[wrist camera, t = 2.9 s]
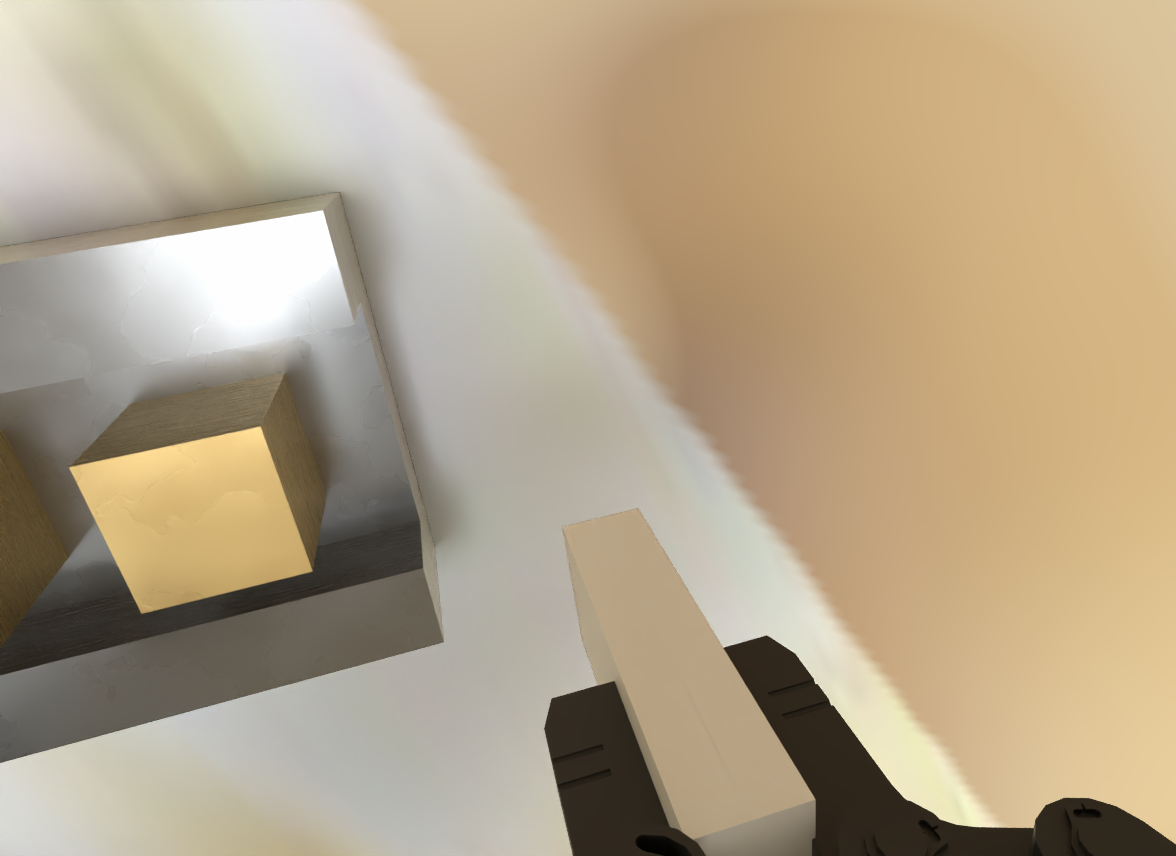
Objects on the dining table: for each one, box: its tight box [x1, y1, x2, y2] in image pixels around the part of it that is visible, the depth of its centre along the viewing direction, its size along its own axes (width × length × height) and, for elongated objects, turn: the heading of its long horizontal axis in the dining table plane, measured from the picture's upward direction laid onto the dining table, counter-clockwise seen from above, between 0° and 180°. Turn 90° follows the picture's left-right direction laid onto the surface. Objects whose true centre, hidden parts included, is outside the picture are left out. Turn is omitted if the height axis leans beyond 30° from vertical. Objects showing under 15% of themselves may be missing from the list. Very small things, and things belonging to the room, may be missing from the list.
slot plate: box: [0, 192, 444, 763], centre depth 22 cm, size 20×14×6 cm
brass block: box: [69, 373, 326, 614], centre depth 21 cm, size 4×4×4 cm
